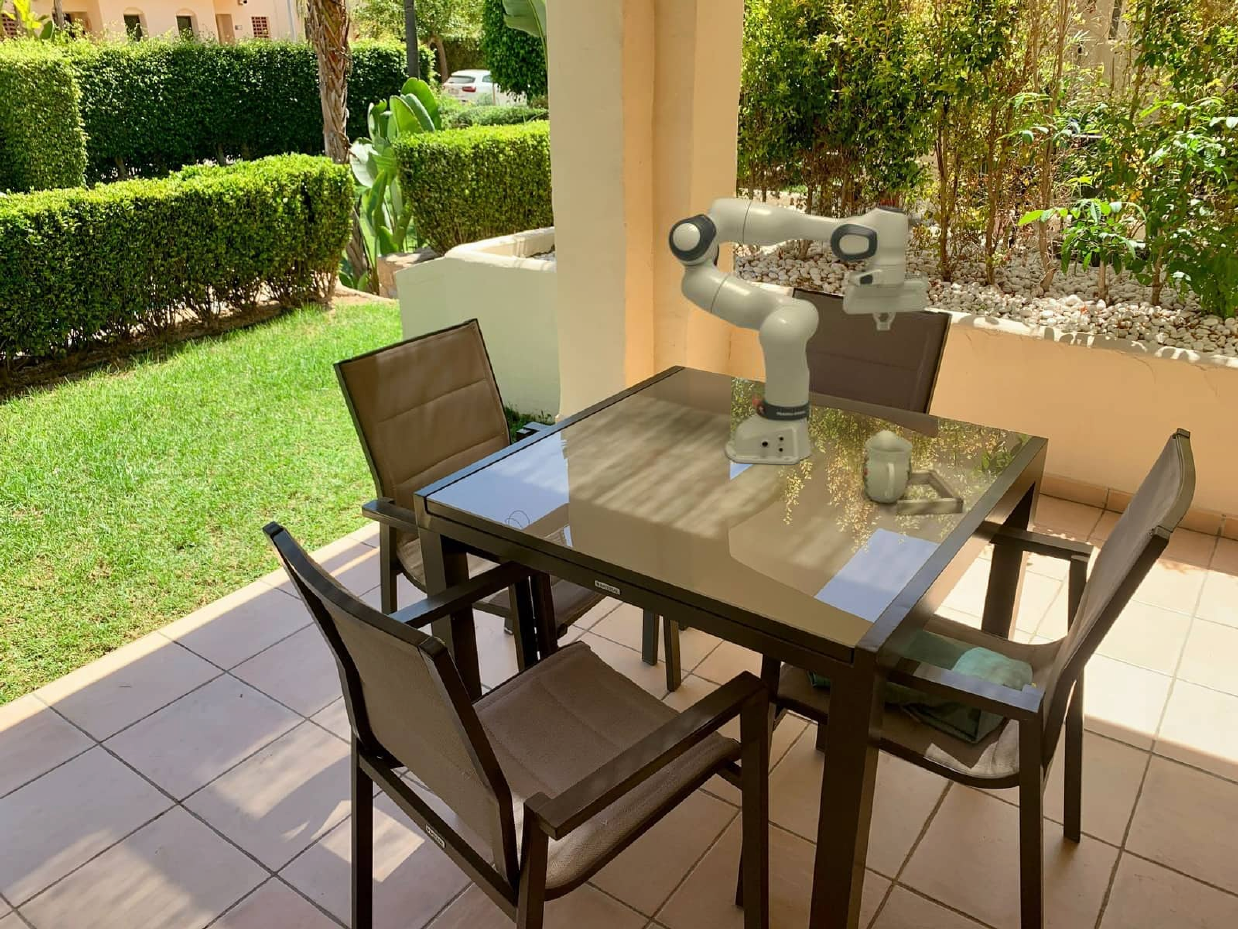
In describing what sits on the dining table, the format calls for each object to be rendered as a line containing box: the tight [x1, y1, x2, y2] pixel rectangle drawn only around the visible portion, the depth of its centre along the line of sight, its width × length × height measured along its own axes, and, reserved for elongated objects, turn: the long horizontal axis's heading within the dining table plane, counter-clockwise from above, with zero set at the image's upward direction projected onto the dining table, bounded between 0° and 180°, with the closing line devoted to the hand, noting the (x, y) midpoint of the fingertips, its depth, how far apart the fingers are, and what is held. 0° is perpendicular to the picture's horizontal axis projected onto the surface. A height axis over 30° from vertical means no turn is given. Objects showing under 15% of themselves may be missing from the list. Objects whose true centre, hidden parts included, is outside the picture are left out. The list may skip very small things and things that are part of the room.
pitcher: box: [861, 429, 913, 504], centre depth 213 cm, size 11×18×14 cm, turn 170°
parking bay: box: [895, 469, 965, 516], centre depth 215 cm, size 14×18×3 cm
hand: (882, 329), depth 232 cm, fingers closed
